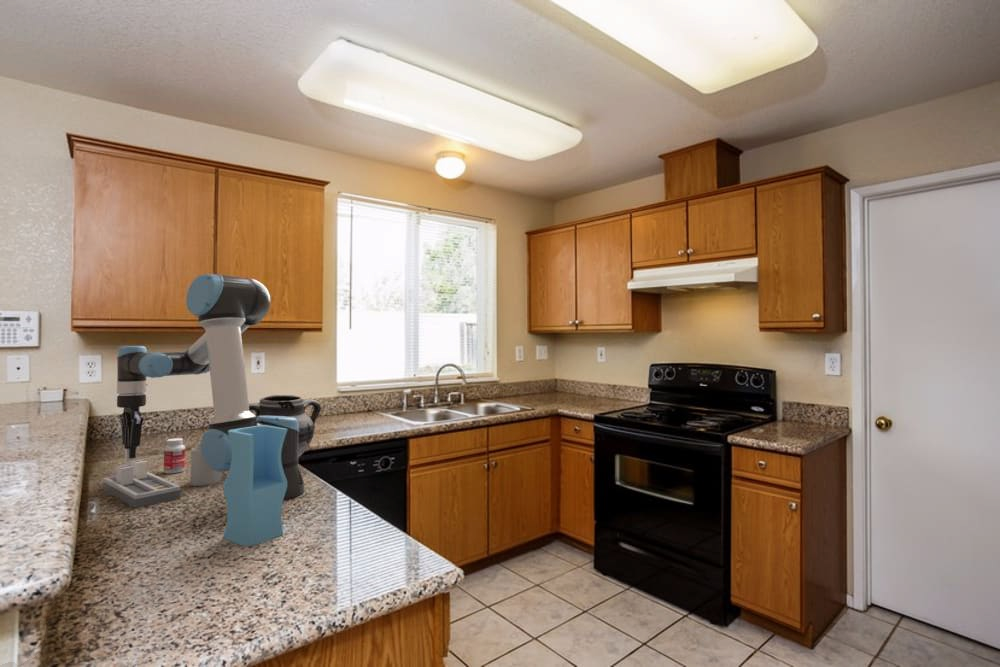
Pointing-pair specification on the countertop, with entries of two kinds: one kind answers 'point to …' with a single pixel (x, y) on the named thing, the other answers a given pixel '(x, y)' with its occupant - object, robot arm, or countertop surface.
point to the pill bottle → (174, 456)
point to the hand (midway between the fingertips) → (130, 467)
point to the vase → (255, 485)
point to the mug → (202, 470)
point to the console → (143, 490)
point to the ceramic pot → (290, 414)
